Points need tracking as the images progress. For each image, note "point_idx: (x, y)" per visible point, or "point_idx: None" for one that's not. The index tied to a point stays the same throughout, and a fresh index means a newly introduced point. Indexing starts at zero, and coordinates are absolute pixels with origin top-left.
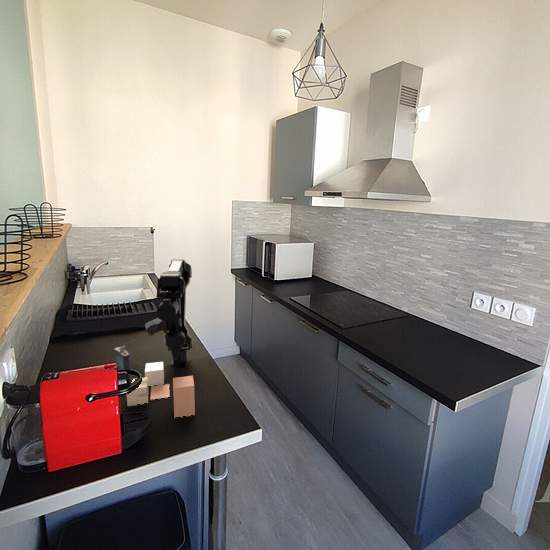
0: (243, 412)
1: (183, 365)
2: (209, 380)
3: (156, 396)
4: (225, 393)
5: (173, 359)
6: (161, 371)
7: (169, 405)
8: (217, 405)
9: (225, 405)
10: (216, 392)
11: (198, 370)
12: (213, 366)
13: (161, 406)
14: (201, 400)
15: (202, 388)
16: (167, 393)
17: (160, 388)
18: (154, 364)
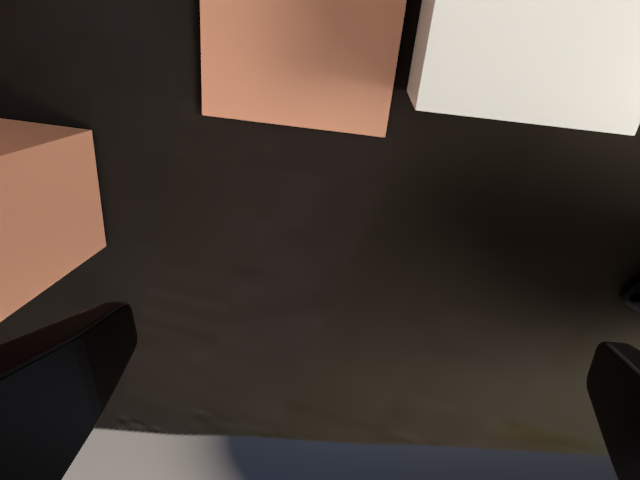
0: None
1: (631, 290)
2: (339, 382)
3: (229, 12)
4: (180, 408)
5: (104, 304)
6: (417, 87)
7: (117, 101)
8: None
9: None
10: (199, 376)
11: (502, 360)
12: (504, 447)
13: (113, 43)
14: (138, 291)
15: (261, 326)
16: (250, 105)
17: (341, 56)
18: (619, 7)
